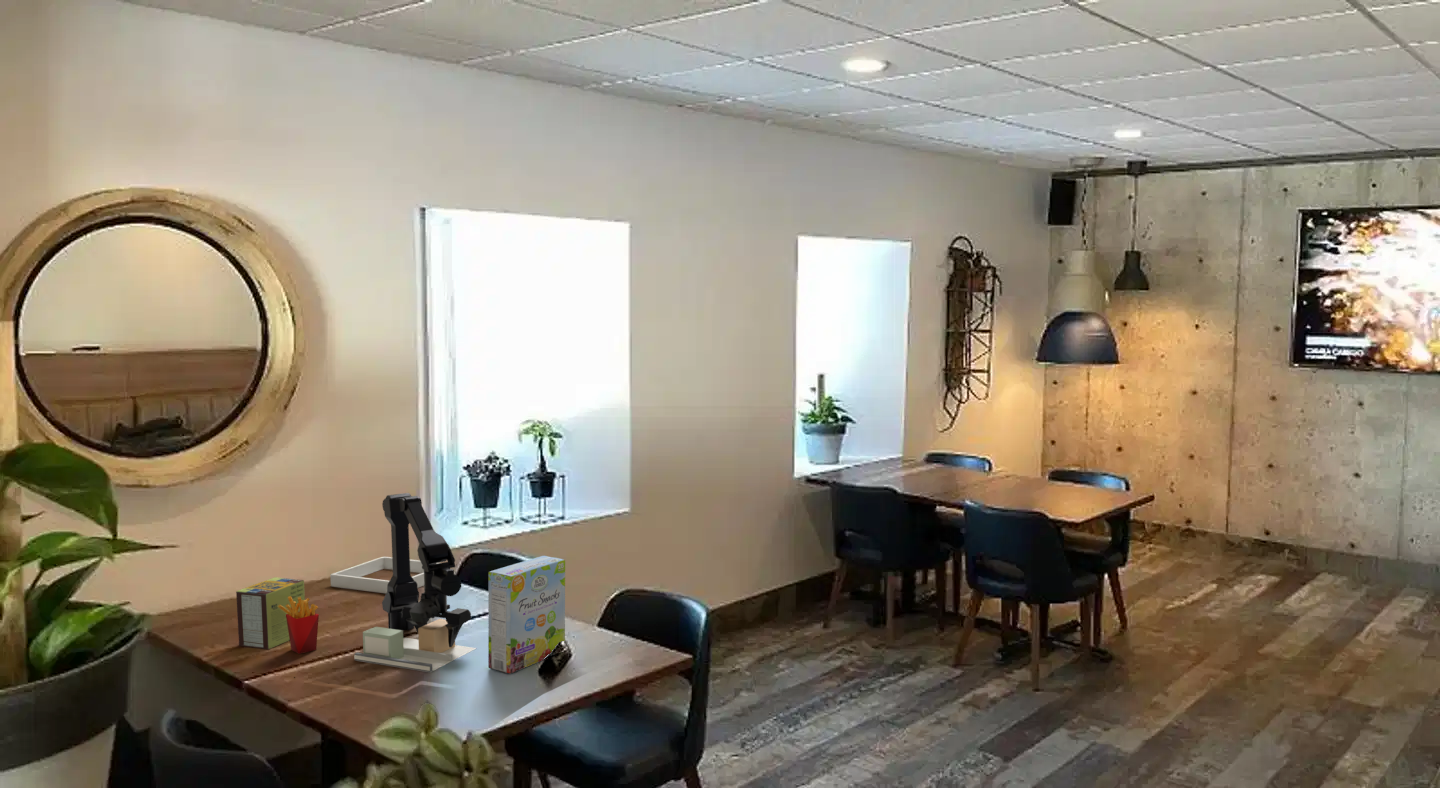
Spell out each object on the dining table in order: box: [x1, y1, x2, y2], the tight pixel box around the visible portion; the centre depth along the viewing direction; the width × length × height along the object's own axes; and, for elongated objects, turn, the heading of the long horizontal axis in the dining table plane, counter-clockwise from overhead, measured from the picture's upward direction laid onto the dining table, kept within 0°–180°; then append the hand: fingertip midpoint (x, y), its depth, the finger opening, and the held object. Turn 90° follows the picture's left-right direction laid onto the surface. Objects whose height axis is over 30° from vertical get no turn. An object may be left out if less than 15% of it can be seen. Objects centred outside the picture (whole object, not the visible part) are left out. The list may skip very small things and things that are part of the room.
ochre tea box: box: [417, 618, 456, 653], centre depth 294 cm, size 9×5×7 cm, turn 157°
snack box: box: [487, 555, 566, 675], centre depth 286 cm, size 22×9×26 cm, turn 148°
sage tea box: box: [362, 626, 404, 659], centre depth 288 cm, size 9×5×7 cm, turn 67°
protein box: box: [235, 576, 306, 650], centre depth 305 cm, size 10×15×16 cm
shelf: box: [353, 637, 477, 673], centre depth 291 cm, size 24×20×3 cm
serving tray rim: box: [329, 556, 438, 594], centre depth 367 cm, size 28×26×4 cm
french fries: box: [278, 596, 320, 655], centre depth 295 cm, size 9×8×15 cm
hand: (437, 644), depth 294 cm, fingers open, 9 cm apart
